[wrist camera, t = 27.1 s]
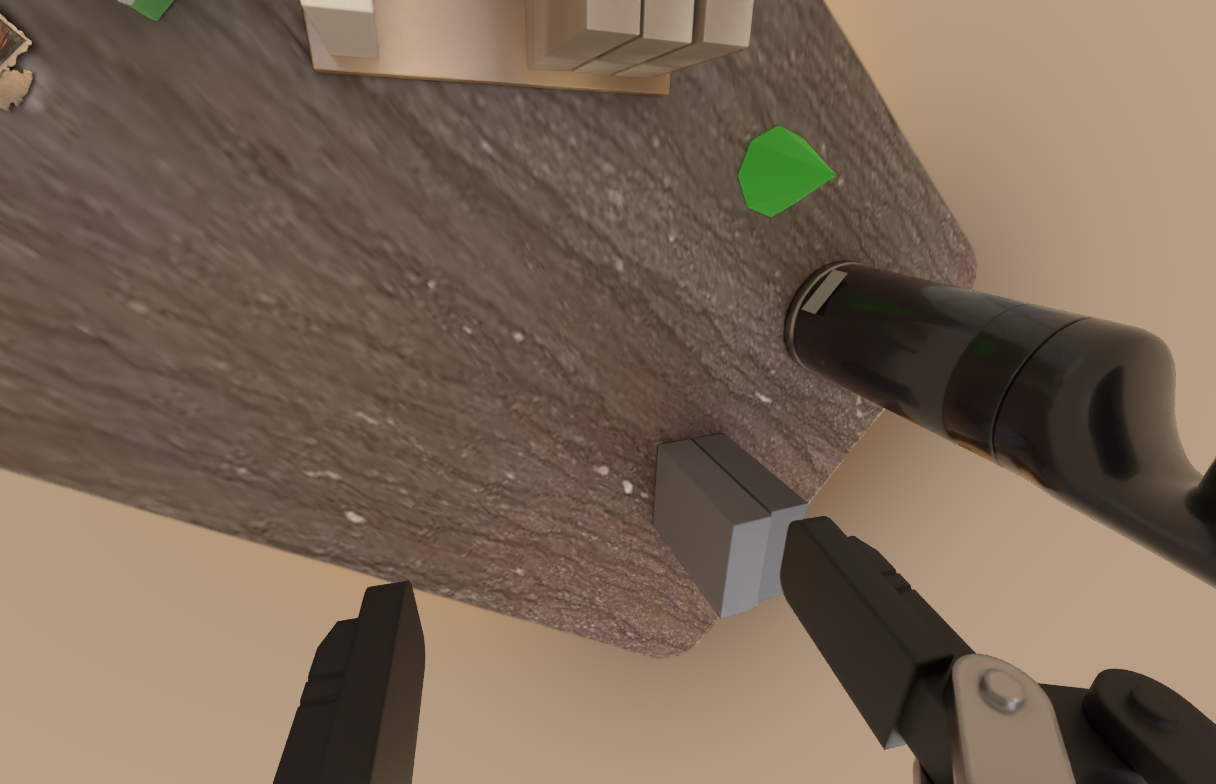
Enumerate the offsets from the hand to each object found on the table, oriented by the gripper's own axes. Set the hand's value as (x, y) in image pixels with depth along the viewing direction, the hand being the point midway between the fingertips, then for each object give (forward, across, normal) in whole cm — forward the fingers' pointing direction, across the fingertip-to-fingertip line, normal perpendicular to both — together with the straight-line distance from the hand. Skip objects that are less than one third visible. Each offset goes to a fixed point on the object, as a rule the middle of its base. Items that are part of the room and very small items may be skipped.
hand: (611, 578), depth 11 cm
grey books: (+27, -12, +18) cm, 35 cm away
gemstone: (+29, -18, -6) cm, 34 cm away
